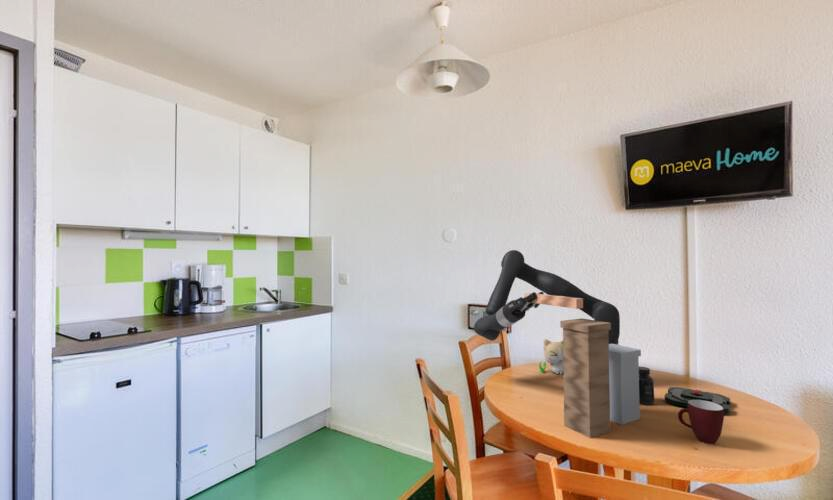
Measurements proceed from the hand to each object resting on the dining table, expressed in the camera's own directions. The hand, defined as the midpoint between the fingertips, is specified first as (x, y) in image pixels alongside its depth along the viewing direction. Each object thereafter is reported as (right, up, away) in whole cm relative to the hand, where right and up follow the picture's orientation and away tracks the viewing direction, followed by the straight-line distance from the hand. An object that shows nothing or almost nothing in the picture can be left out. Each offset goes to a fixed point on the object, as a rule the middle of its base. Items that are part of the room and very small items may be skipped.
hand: (539, 294), depth 131 cm
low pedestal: (+22, -38, -9) cm, 45 cm away
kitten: (+20, -40, +39) cm, 59 cm away
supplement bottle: (+38, -39, +3) cm, 55 cm away
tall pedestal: (+9, -38, -17) cm, 43 cm away
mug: (+38, -38, -25) cm, 59 cm away
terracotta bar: (+3, -3, -5) cm, 6 cm away
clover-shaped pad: (+56, -39, +2) cm, 69 cm away
